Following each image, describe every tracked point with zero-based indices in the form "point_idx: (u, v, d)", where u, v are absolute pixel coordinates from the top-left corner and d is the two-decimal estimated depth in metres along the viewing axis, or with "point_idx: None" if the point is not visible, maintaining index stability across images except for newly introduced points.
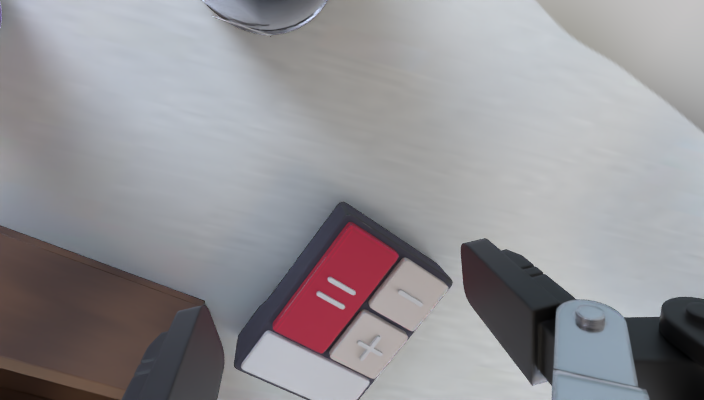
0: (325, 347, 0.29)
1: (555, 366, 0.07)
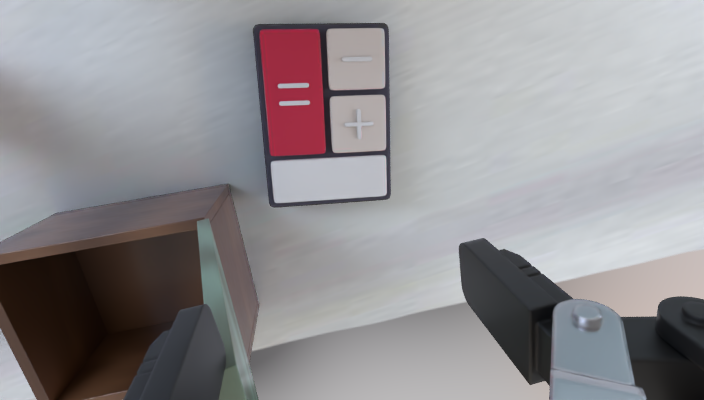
0: (323, 145, 0.32)
1: (552, 366, 0.07)
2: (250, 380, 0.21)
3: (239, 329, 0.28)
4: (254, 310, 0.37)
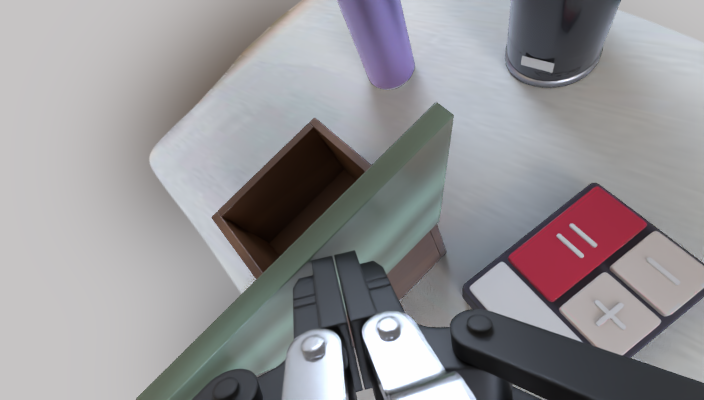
0: (556, 294, 0.29)
1: (385, 389, 0.07)
2: None
3: None
4: None
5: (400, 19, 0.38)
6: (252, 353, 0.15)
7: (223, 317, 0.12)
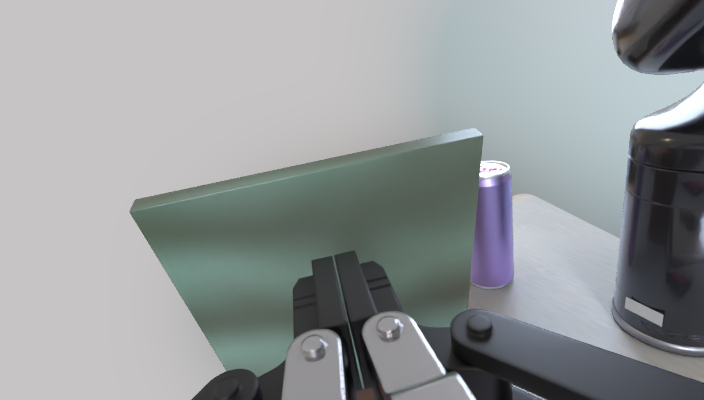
0: None
1: (385, 389, 0.07)
2: None
3: None
4: None
5: (506, 223, 0.43)
6: (223, 266, 0.16)
7: (232, 180, 0.14)
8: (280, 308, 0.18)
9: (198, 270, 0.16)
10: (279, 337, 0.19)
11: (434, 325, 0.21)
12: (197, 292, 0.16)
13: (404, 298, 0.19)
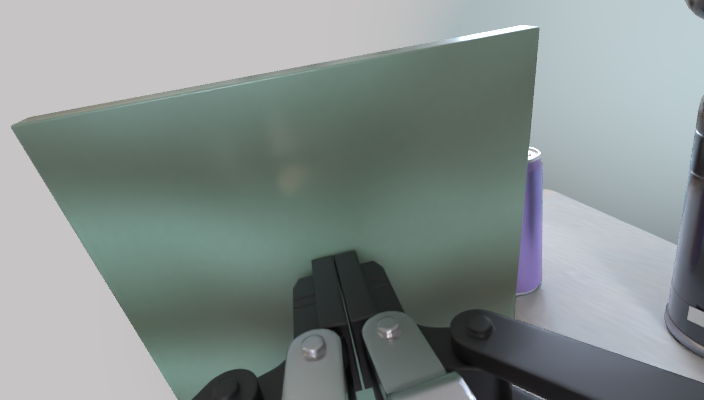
0: None
1: (385, 389, 0.07)
2: None
3: None
4: None
5: (536, 218, 0.37)
6: (164, 230, 0.11)
7: (174, 91, 0.10)
8: (251, 303, 0.13)
9: (125, 235, 0.11)
10: (252, 350, 0.14)
11: None
12: (127, 272, 0.11)
13: (427, 294, 0.14)
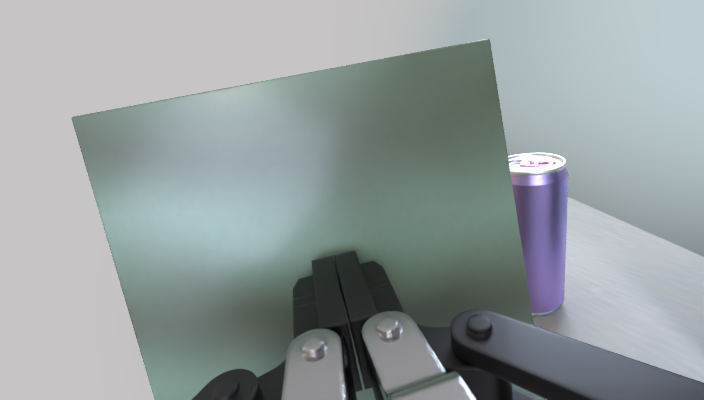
0: None
1: (385, 389, 0.07)
2: None
3: None
4: None
5: (560, 232, 0.33)
6: (176, 215, 0.12)
7: None
8: (250, 303, 0.13)
9: (142, 218, 0.12)
10: (249, 366, 0.13)
11: None
12: (137, 259, 0.12)
13: (432, 303, 0.13)
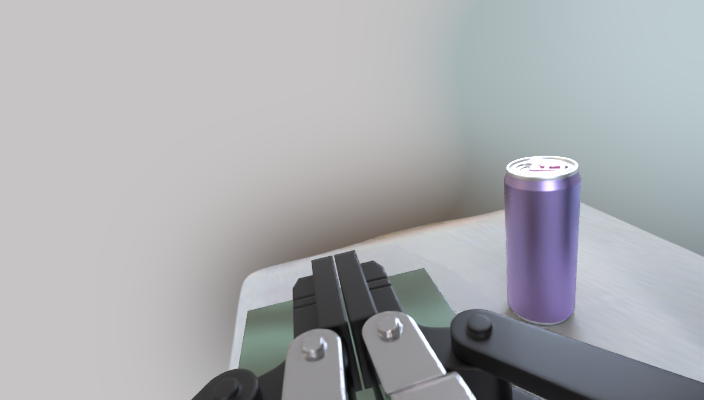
0: None
1: (385, 389, 0.07)
2: None
3: None
4: None
5: (573, 239, 0.32)
6: (276, 335, 0.24)
7: None
8: None
9: (260, 338, 0.24)
10: None
11: None
12: (251, 354, 0.23)
13: None
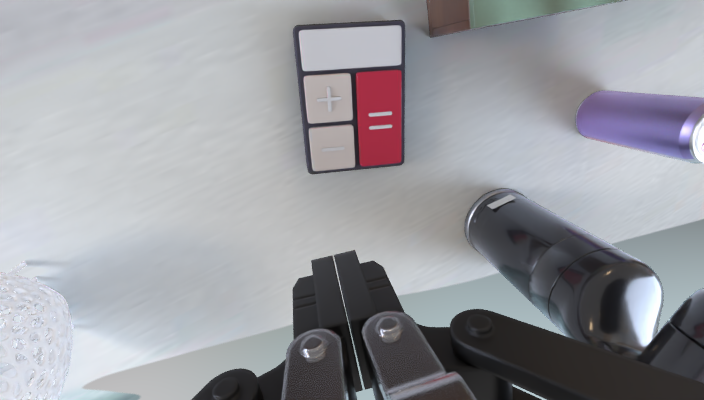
0: (358, 79, 0.38)
1: (385, 389, 0.07)
2: None
3: None
4: None
5: (632, 140, 0.40)
6: None
7: None
8: None
9: None
10: None
11: None
12: None
13: None
